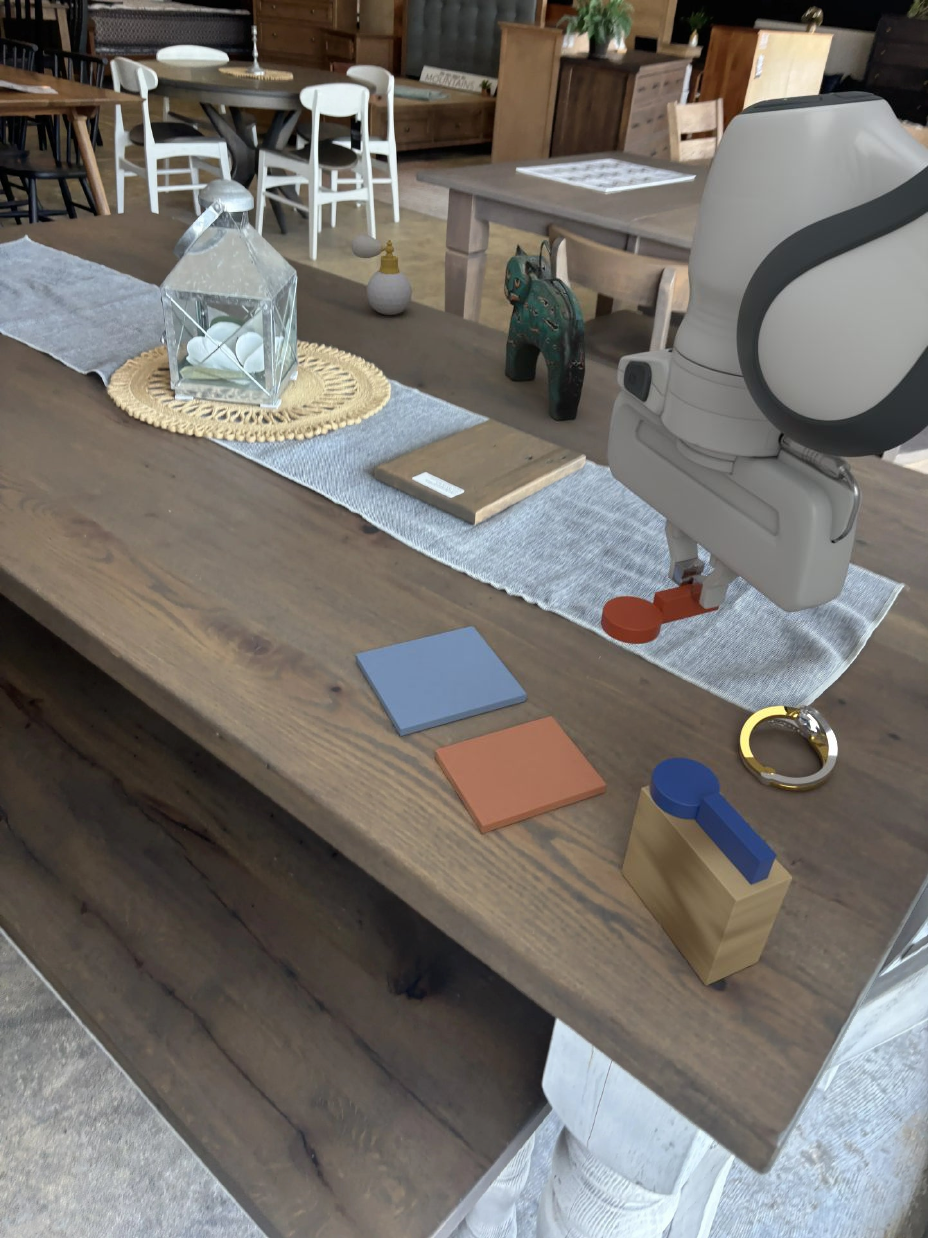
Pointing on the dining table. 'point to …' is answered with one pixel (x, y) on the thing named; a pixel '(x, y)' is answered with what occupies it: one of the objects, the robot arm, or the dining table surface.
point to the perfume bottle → (384, 277)
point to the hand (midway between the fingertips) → (694, 592)
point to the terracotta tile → (518, 773)
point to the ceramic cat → (545, 331)
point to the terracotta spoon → (648, 614)
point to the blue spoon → (710, 814)
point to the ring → (807, 726)
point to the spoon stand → (700, 892)
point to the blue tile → (439, 679)
